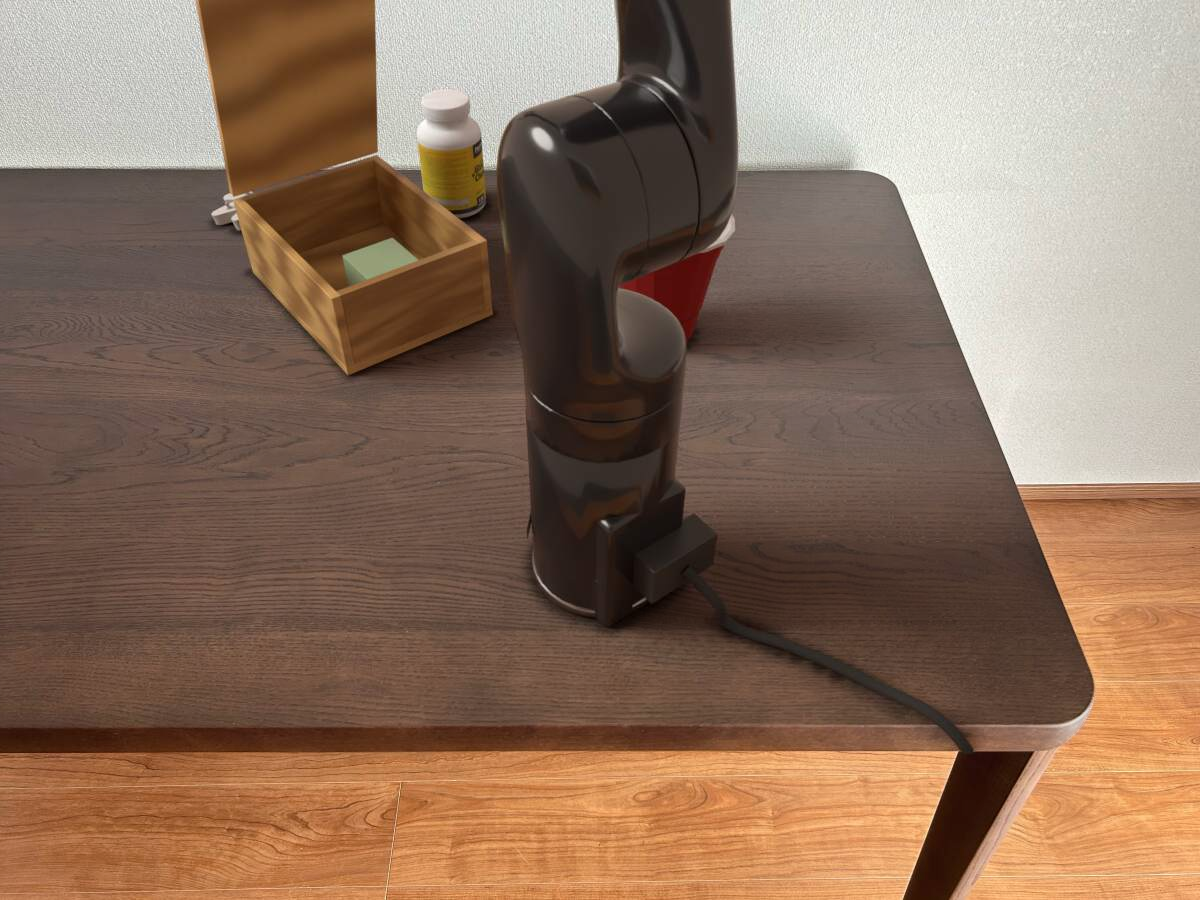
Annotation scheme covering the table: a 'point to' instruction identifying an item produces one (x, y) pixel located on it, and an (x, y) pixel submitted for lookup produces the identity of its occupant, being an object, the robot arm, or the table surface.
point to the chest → (351, 222)
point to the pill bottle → (451, 153)
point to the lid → (290, 85)
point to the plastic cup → (683, 282)
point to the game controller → (228, 211)
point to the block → (375, 260)
